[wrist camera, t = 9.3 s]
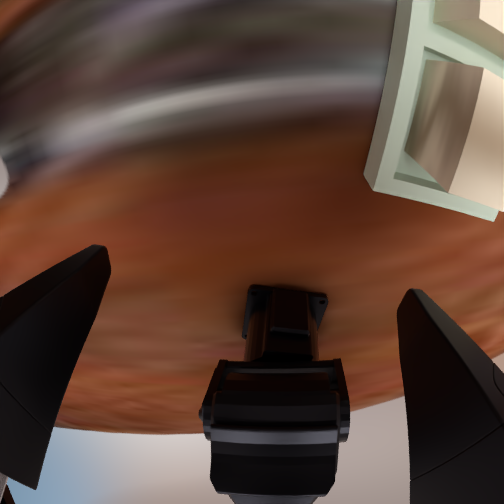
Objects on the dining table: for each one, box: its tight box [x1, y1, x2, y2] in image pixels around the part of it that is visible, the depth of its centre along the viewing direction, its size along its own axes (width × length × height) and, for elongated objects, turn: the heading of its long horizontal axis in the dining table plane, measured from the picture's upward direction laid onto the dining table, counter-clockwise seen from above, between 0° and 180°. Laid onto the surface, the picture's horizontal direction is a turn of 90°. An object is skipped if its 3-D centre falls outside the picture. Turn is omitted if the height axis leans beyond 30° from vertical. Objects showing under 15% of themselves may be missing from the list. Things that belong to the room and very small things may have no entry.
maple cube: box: [404, 59, 504, 212], centre depth 12 cm, size 6×6×6 cm
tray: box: [363, 0, 504, 222], centre depth 10 cm, size 19×10×6 cm, turn 174°
